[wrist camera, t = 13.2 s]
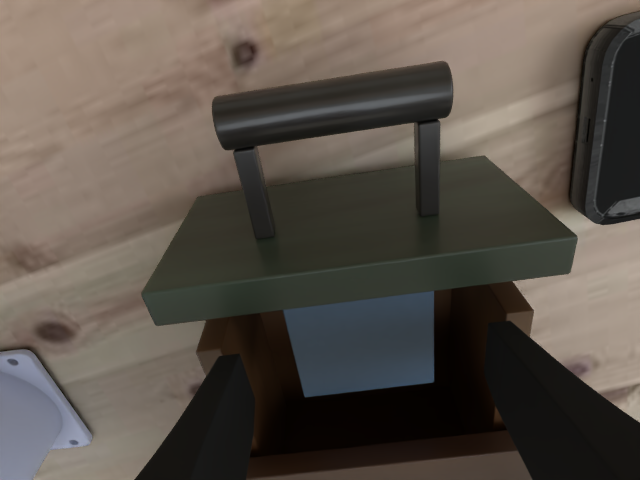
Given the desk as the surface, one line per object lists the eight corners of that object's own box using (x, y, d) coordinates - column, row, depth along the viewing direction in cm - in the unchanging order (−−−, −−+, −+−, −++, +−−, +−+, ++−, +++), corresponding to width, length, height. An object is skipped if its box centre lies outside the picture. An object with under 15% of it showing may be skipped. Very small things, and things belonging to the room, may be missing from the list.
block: (305, 312, 18) (304, 398, 14) (286, 223, 16) (278, 297, 12) (407, 299, 18) (434, 383, 14) (402, 207, 15) (434, 276, 11)
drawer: (160, 86, 14) (66, 139, 9) (493, 33, 13) (618, 53, 8) (263, 399, 22) (248, 526, 17) (470, 375, 22) (523, 499, 16)
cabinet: (233, 322, 21) (193, 485, 14) (480, 291, 20) (572, 445, 13) (283, 470, 28) (274, 629, 21) (468, 451, 27) (524, 608, 20)
